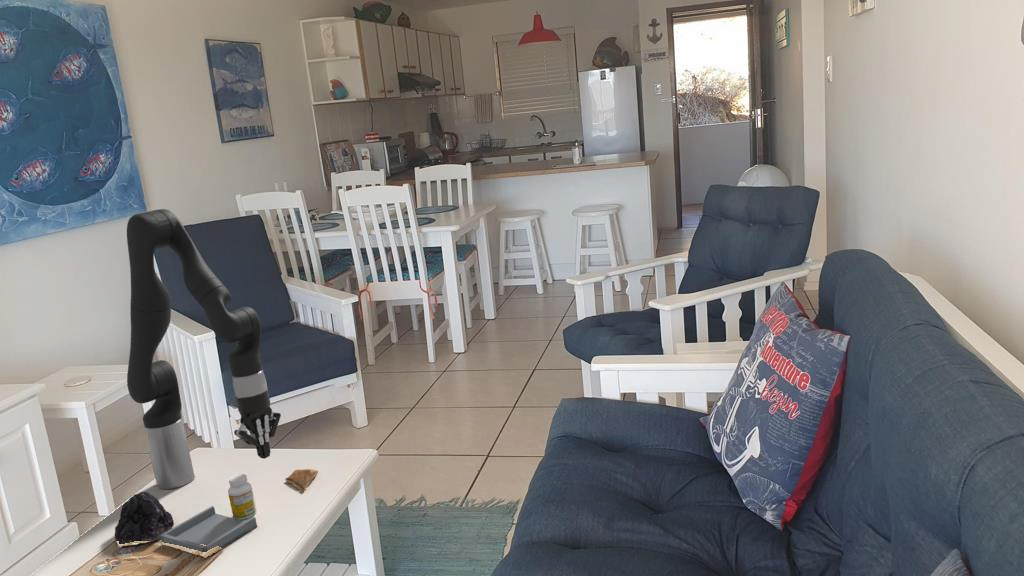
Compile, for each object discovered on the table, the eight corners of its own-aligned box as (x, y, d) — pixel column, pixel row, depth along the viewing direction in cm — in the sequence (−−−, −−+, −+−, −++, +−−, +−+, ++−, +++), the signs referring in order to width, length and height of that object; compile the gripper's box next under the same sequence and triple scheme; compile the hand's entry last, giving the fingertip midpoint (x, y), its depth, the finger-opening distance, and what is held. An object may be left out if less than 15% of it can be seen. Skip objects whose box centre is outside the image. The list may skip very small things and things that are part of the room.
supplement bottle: (236, 511, 191) (228, 474, 189) (259, 507, 191) (251, 471, 189) (230, 522, 186) (222, 484, 183) (253, 518, 186) (246, 481, 184)
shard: (304, 494, 197) (303, 488, 196) (275, 495, 198) (274, 489, 197) (320, 474, 207) (318, 468, 207) (292, 475, 208) (291, 469, 208)
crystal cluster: (148, 554, 177) (144, 513, 175) (98, 547, 180) (94, 506, 178) (187, 527, 189) (184, 488, 188) (140, 521, 193) (136, 483, 191)
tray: (162, 544, 179) (160, 535, 178) (213, 515, 190) (211, 506, 190) (206, 558, 170) (204, 548, 170) (257, 526, 182) (255, 517, 181)
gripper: (262, 380, 197) (275, 444, 200) (218, 399, 186) (233, 466, 189) (282, 382, 193) (295, 447, 196) (239, 401, 182) (253, 470, 185)
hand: (264, 457), depth 193 cm, fingers closed
